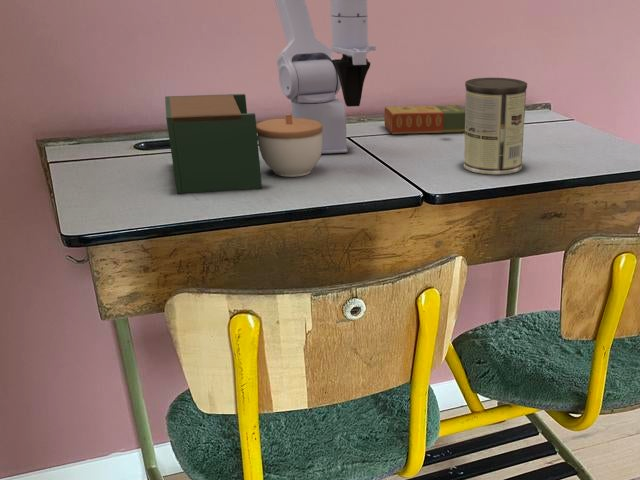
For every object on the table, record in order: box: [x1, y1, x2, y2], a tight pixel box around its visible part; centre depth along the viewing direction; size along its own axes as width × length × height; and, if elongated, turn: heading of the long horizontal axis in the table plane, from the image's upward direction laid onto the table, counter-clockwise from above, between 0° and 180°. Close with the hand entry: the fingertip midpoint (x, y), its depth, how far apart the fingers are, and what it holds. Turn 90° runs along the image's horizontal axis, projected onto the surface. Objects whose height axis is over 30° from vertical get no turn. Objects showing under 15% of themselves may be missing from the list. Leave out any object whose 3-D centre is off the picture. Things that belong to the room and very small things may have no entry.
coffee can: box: [463, 77, 528, 175], centre depth 139 cm, size 10×10×14 cm
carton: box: [383, 104, 465, 135], centre depth 166 cm, size 8×16×4 cm, turn 105°
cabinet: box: [164, 93, 263, 194], centre depth 131 cm, size 13×17×11 cm
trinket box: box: [256, 113, 323, 178], centre depth 135 cm, size 11×11×9 cm
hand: (352, 105), depth 135 cm, fingers closed
